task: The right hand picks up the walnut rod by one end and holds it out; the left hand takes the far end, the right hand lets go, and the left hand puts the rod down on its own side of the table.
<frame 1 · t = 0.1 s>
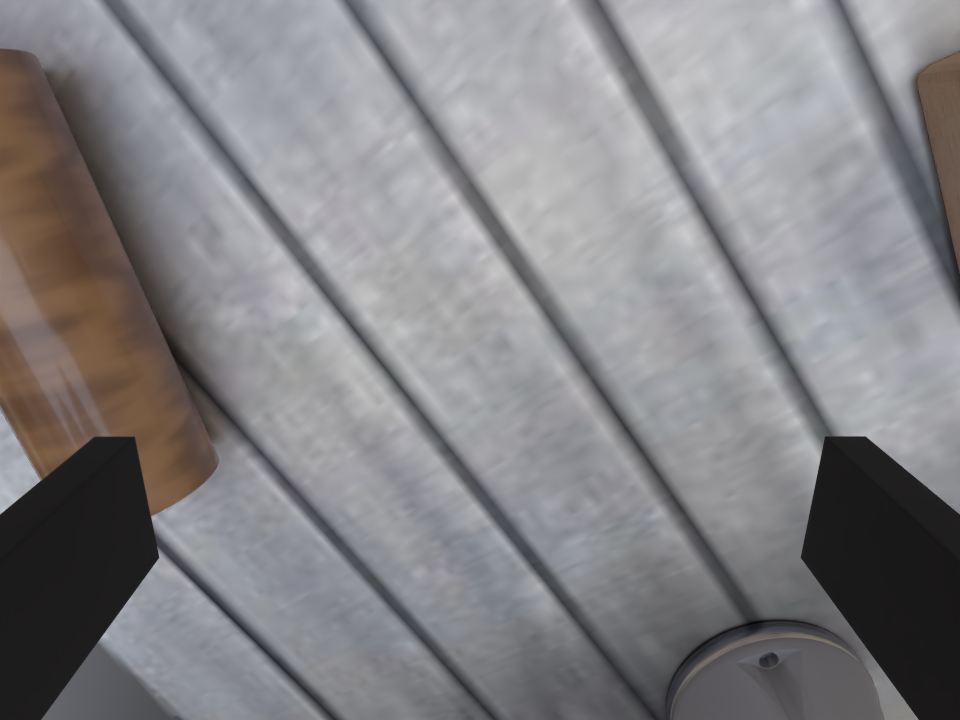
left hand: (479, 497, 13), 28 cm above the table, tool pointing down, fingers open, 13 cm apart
rod: (97, 285, 40), on the table
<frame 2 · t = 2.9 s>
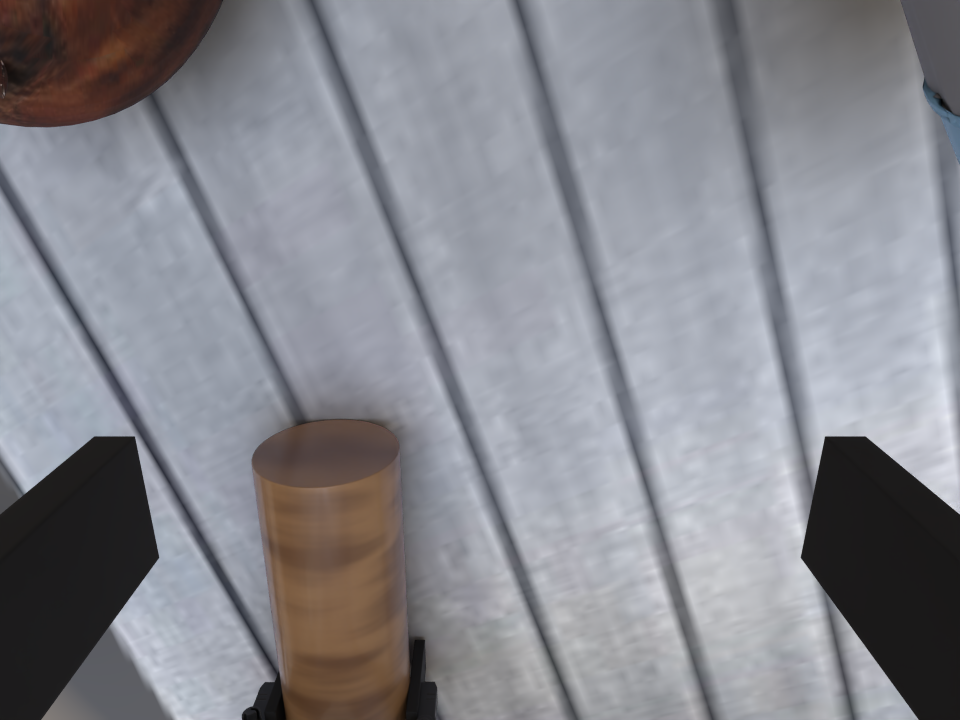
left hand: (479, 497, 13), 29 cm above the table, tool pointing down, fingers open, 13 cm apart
rod: (352, 565, 48), on the table, touching right hand
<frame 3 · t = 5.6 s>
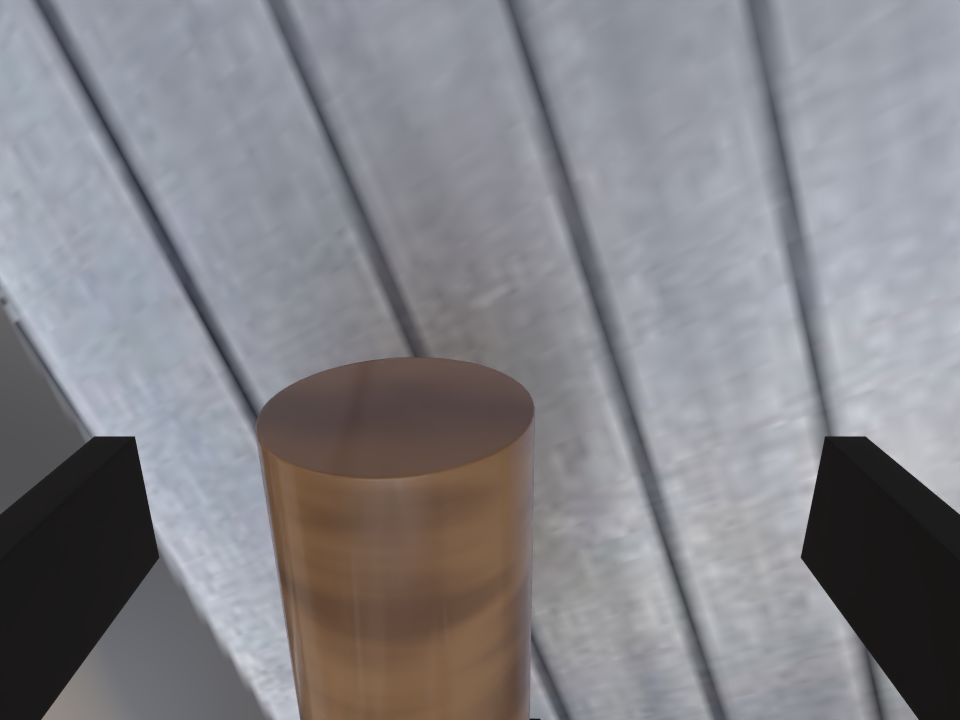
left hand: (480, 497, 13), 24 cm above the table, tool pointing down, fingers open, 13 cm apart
rod: (427, 602, 30), point 11 cm above the table, touching right hand
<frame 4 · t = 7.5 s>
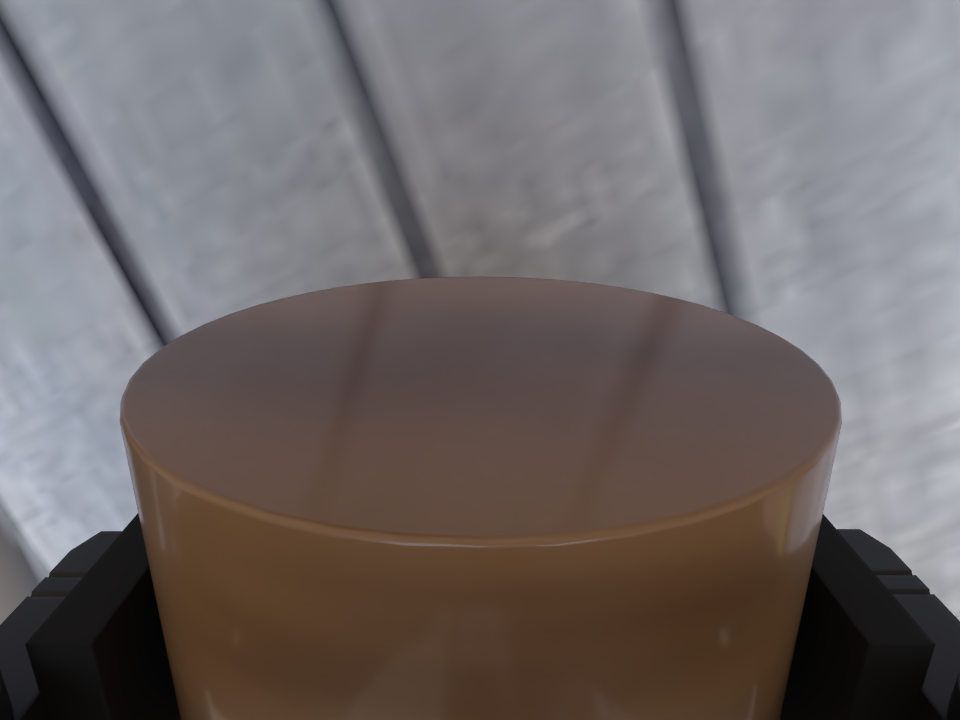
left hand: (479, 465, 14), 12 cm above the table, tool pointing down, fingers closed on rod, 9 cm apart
when the right hand's fingers open (12 cm above the table, at t = 8.5 s): rod stays where it is, held by the left hand.
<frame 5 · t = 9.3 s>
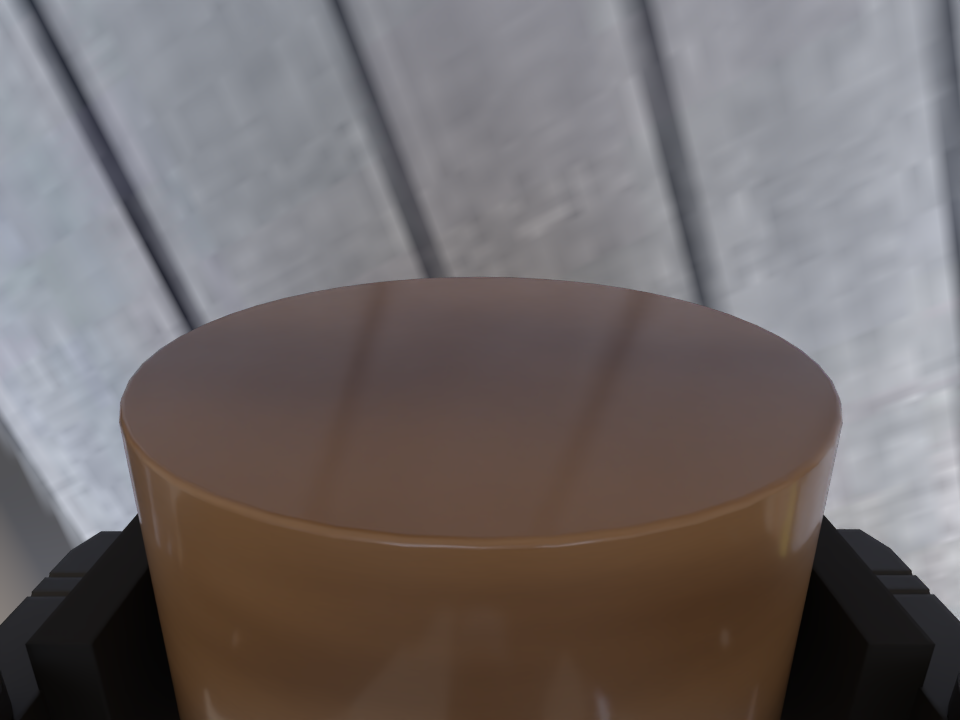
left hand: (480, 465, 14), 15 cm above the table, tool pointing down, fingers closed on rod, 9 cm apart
when the left hand's fingers open (15 cm above the table, at t = 12.0 s): rod drops 13 cm and tips over, point 1 cm above the table.
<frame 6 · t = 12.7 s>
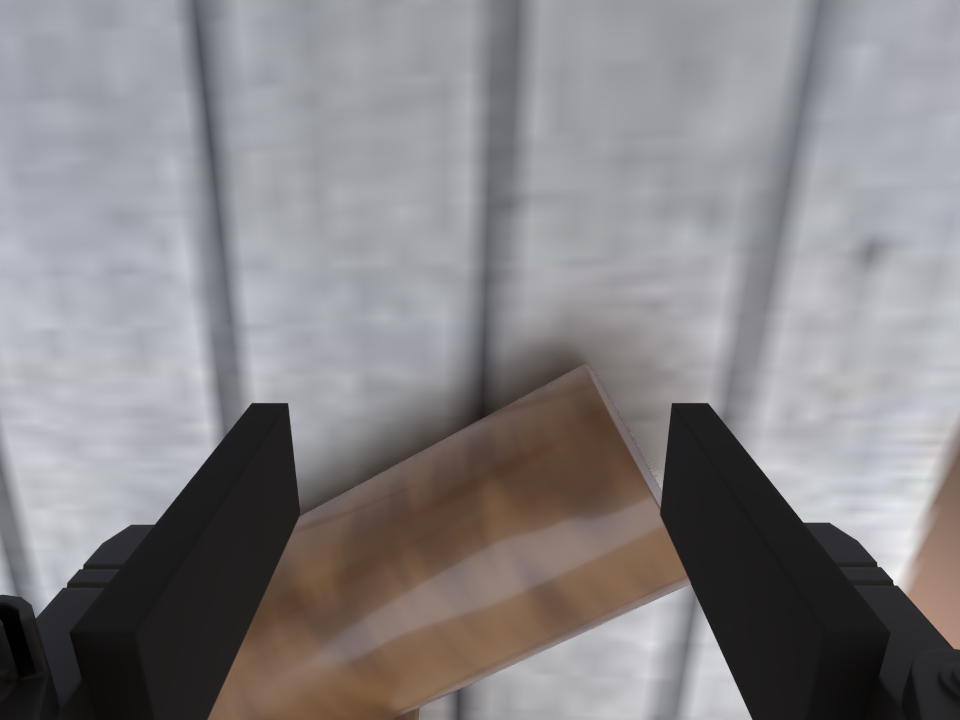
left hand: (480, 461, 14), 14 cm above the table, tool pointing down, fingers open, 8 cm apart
rod: (349, 497, 29), point 1 cm above the table, tilted 46°
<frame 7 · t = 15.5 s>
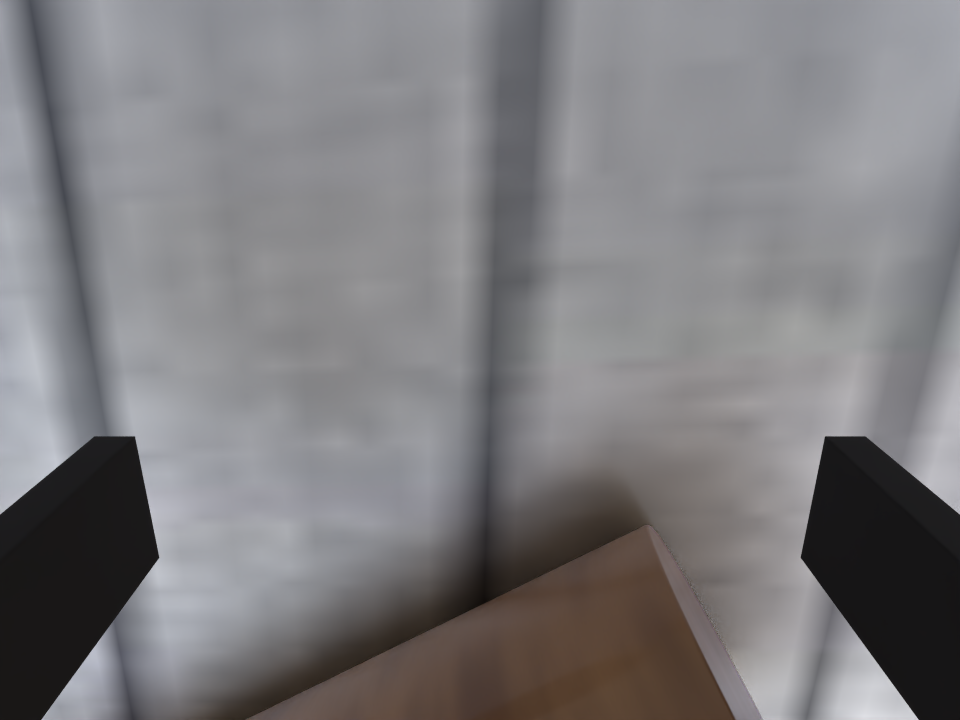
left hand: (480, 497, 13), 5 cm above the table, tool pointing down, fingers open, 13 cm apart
rod: (289, 700, 20), point 1 cm above the table, tilted 46°
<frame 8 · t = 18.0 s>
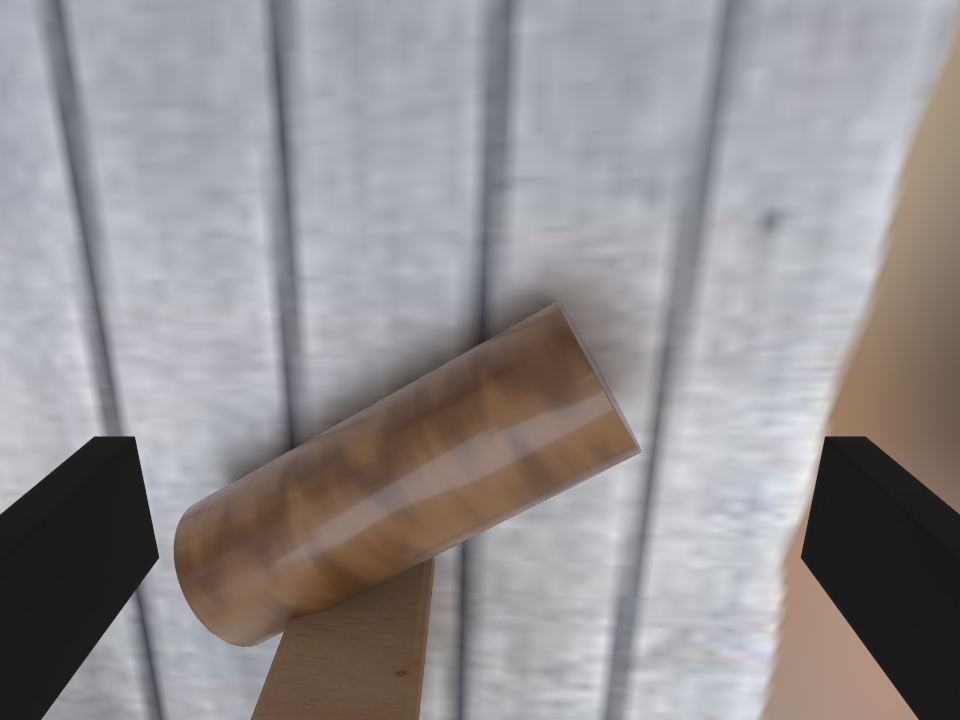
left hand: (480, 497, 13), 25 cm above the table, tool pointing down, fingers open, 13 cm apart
rod: (380, 409, 38), point 1 cm above the table, tilted 46°
decorative block: (363, 627, 45), on the table
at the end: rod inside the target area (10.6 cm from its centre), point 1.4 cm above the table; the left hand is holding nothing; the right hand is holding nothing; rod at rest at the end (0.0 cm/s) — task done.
